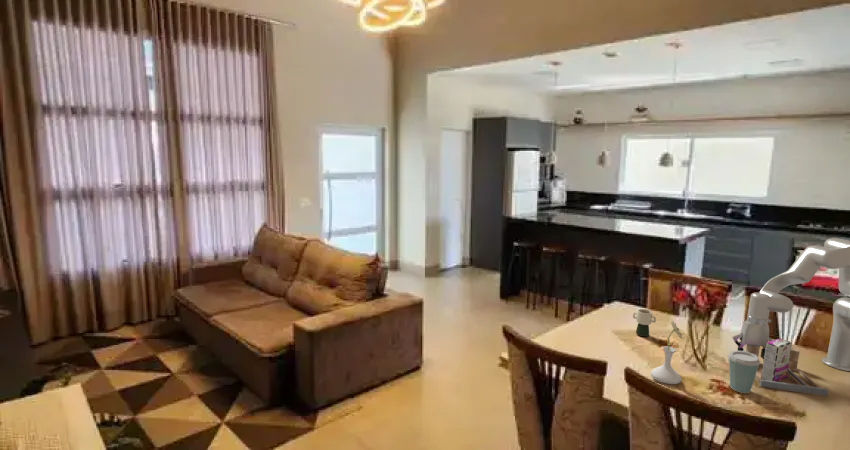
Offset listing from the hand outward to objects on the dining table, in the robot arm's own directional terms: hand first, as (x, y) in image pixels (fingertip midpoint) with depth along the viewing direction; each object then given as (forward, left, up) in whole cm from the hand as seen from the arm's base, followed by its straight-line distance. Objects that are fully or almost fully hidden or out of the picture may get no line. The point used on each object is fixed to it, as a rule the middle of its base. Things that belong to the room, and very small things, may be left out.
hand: (751, 356), depth 208 cm
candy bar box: (-4, +13, -4) cm, 14 cm away
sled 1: (-4, +10, -3) cm, 12 cm away
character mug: (+42, -20, -4) cm, 46 cm away
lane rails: (-7, +13, -3) cm, 15 cm away
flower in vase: (+42, +29, -4) cm, 51 cm away
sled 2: (-15, +10, -3) cm, 19 cm away
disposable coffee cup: (+15, +29, -4) cm, 33 cm away
